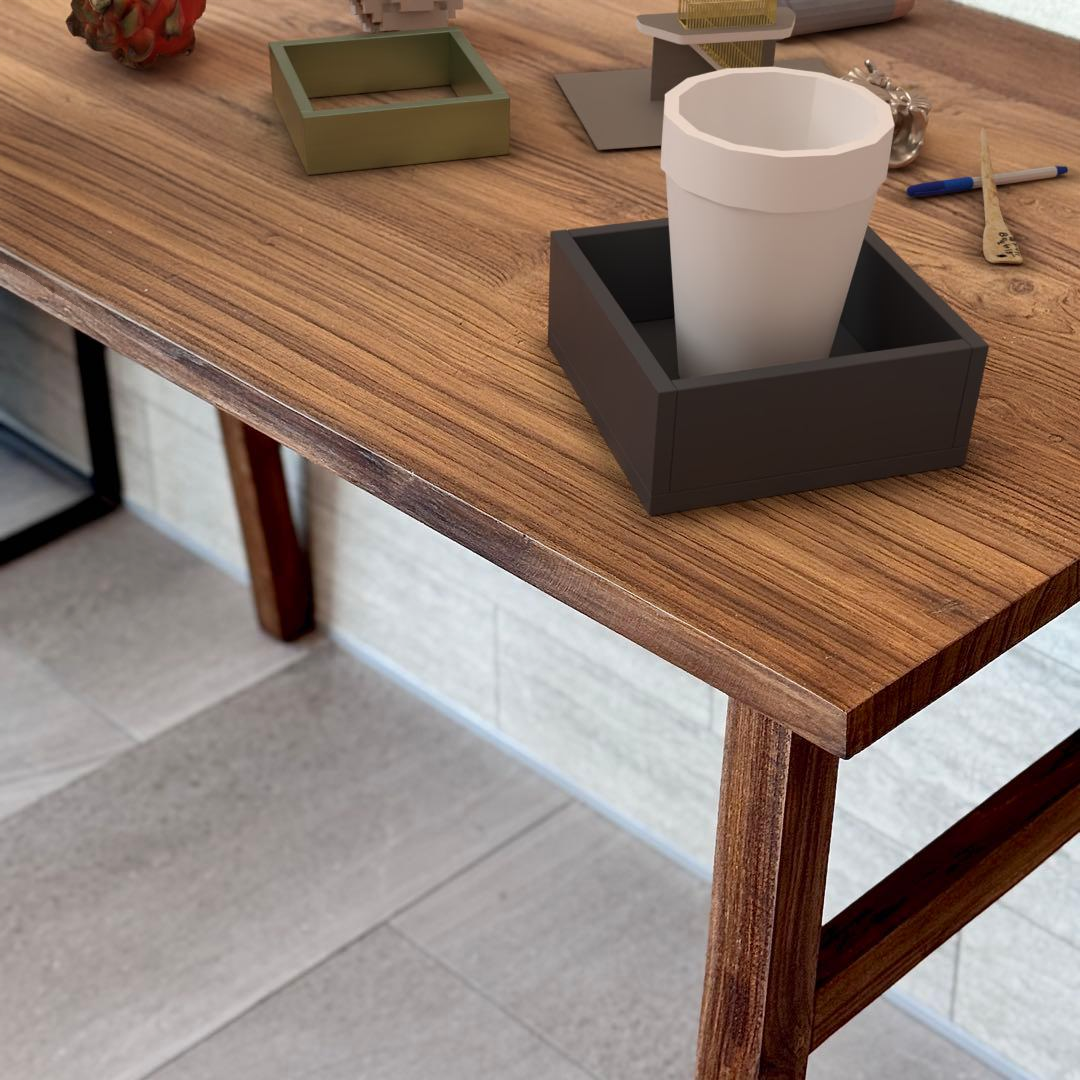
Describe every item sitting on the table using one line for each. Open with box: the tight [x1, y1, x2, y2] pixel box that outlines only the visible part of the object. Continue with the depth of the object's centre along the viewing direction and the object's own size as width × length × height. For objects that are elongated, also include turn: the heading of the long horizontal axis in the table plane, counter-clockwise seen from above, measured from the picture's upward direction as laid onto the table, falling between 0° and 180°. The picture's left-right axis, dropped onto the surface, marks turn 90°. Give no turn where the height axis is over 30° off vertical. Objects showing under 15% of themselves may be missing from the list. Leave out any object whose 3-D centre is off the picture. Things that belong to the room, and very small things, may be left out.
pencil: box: [776, 0, 916, 42], centre depth 115 cm, size 11×3×3 cm, turn 117°
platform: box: [553, 0, 836, 151], centre depth 103 cm, size 12×18×7 cm, turn 102°
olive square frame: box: [267, 25, 511, 176], centre depth 100 cm, size 12×12×4 cm
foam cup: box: [660, 67, 894, 379], centre depth 72 cm, size 10×9×13 cm
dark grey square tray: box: [547, 217, 990, 517], centre depth 75 cm, size 15×15×6 cm
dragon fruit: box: [64, 0, 207, 71], centre depth 107 cm, size 8×8×12 cm
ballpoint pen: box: [906, 165, 1069, 198], centre depth 96 cm, size 10×1×1 cm
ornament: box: [838, 57, 933, 169], centre depth 99 cm, size 8×7×4 cm
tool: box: [979, 127, 1024, 264], centre depth 93 cm, size 14×1×2 cm
